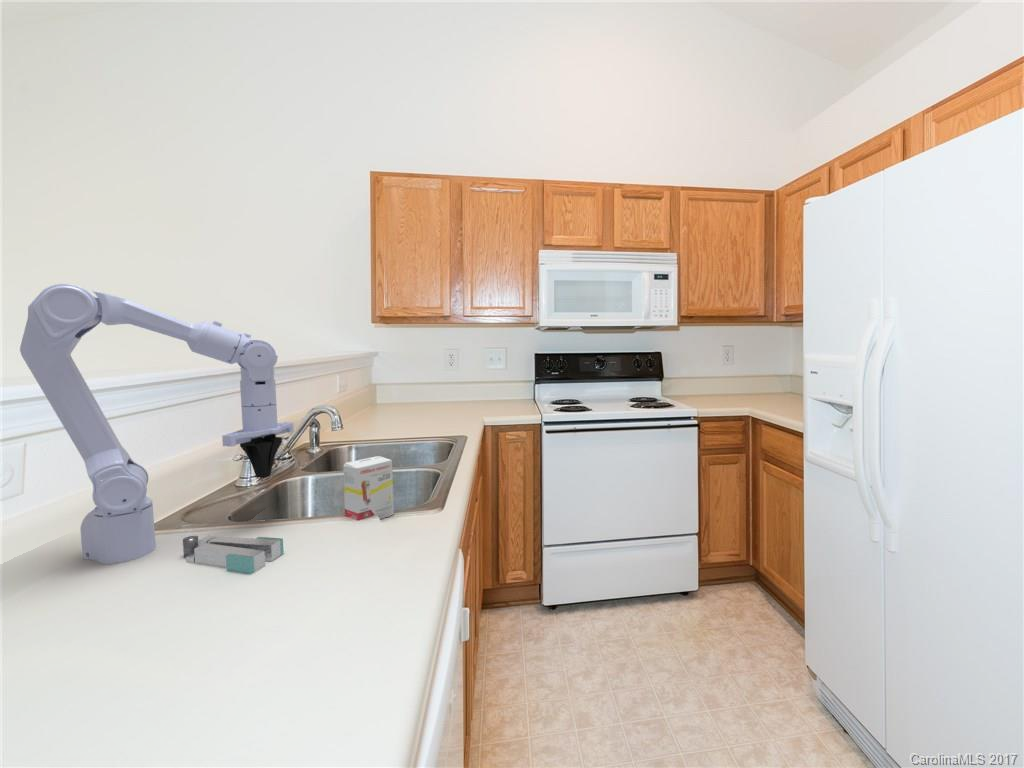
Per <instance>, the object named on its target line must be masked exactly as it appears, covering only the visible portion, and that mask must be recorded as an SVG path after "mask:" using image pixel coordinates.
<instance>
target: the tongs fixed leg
mask: <svg viewBox="0 0 1024 768" xmlns="http://www.w3.org/2000/svg"><path fill="white" fill-rule="evenodd" d="M198 540H199V536H198V535H190V536H187V537H184V538H182V548H183V551H182V552H183V558H184V559H185V563H189V564H199V565H204V566H210V567H217V568H224V569H226V572H233V573H237V574H238V573H240V574H245V575H252V574H254V573H255V572H257V571H259V570H261V569H262V568H264V567H266V561H265V552H264V551H262V550H254V549H247V548H239V547H231V546H224V545H216V544H208V543H206V544H203V545H201V546H199V547H198Z"/></svg>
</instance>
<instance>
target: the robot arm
mask: <svg viewBox="0 0 1024 768" xmlns="http://www.w3.org/2000/svg"><path fill="white" fill-rule="evenodd" d="M91 292H93V293H94V294H95V296H94V295H93V294H92V293H90V292H89V291H88V290H87V289H85V288H84V287H81V286H79V285H76V284H72V283H71V284H70V283H57V284H53V285H50V286H48V287H46V288H44V289H43V290H41V292H39V294H37V296H36V297H35V299H33V301H32V302H31V303H30V304H29V305H28V306H27V319H26V322H25V325H24V326H25V327H24V331H23V334H22V338H21V343H20V347H19V352H20V356H21V357H22V359H23V361H24V362H25V364H26V365H27V367H28V369H29V371H30V372H31V374H32V375H33V377H34V379H35V381H36V382H37V385H38V386H39V387H40V389H41V390H42V392H43V394H44V396H45V398H46V399H47V401H48V403H49V404H50V406H51V407H52V409H53V411H54V412H55V414H56V416H57V418H58V419H59V421H60V423H61V425H62V426H63V428H64V429H65V431H66V433H67V435H68V436H69V438H70V439H71V441H72V443H73V445H74V446H75V448H76V449H77V452H78V453H79V454H80V457H81V458H82V460H83V461H84V464H85V469H86V473H87V476H88V478H89V480H90V481H91V483H92V489H93V490H92V501H93V503H94V505H95V507H94V509H92V510H91V511H90V512H88V513H87V514H86V515H85V516H84V517H83V519H82V521H81V524H80V539H81V540H80V542H81V551H82V553H81V554H82V558H83V559H85V560H86V559H87V560H91V561H96V562H98V563H99V564H103V565H113V564H120V563H125V562H130V561H133V560H136V559H140V558H142V557H145V556H147V555H149V554H151V553H153V552H154V551H155V550H156V548H157V544H156V543H157V541H156V532H155V531H156V530H155V529H156V528H155V519H154V518H155V514H154V504H153V503H154V502H153V499H152V498H150V497H148V496H147V490H148V487H147V486H148V483H149V473H148V471H147V470H146V469H145V467H144V466H142V465H140V464H139V463H137V462H135V461H134V460H133V459H132V458H131V456H130V454H129V453H128V452H127V450H126V449H125V447H123V445H122V444H121V442H120V441H119V439H118V437H117V435H116V433H115V432H114V430H113V428H112V426H111V424H110V423H109V421H108V419H107V417H106V415H105V414H104V412H103V411H102V408H101V407H100V405H99V403H98V401H97V400H96V398H95V397H94V394H93V393H92V391H91V389H90V387H89V386H88V384H87V382H86V380H85V379H84V377H83V374H82V373H81V371H80V369H79V368H78V365H77V364H76V362H75V360H74V359H73V357H72V353H73V351H74V349H75V348H76V346H77V345H78V343H80V341H81V340H82V337H84V336H85V335H86V334H87V333H89V332H91V331H92V330H93V329H94V328H96V327H97V326H99V325H100V323H102V324H105V326H117V325H131V326H136V327H139V328H142V329H145V330H148V331H151V332H154V333H158V334H162V335H164V336H168V337H171V338H173V339H178V340H181V341H184V342H186V344H187V346H188V348H189V349H190V351H191V352H193V353H196V354H198V355H201V356H205V357H208V358H211V359H214V360H216V361H220V362H223V363H226V364H229V365H233V364H237V365H238V366H239V367H240V381H239V388H240V390H239V391H240V404H241V421H242V428H241V429H238V430H235V431H233V432H231V433H226V434H223V435H221V437H222V438H221V439H222V446H223V447H236V446H237V445H239V446H240V448H241V449H242V450H243V452H244V453H245V454H246V456H247V458H248V459H249V462H250V464H251V466H252V469H253V470H254V474H255V477H256V478H262V479H263V478H264V479H266V478H268V477H270V476H271V475H272V470H273V465H274V461H275V457H276V455H277V453H278V449H280V446H281V445H282V443H283V438H282V437H281V436H277V435H283V434H286V433H293V432H295V431H294V427H295V426H294V422H293V421H291V422H290V421H289V422H287V421H285V422H284V421H283V422H278V410H277V408H278V407H277V389H276V379H275V370H274V369H275V368H274V367H275V365H276V364H277V362H278V357H279V356H278V355H277V354H276V353H277V352H276V350H275V349H274V347H273V346H272V345H271V344H270V343H269V342H267V341H264V340H259V339H251V337H252V335H251V333H247V332H245V333H244V334H243V333H240V332H237V331H234V330H231V329H228V328H225V327H223V323H222V322H219V321H217V320H214V321H213V322H210V321H206V320H205V321H201V322H198V323H195V324H192V323H190V322H187V321H184V320H182V319H179V318H176V317H174V316H171V315H168V314H166V313H164V312H160V311H159V310H156V309H153V308H150V307H148V306H145V305H142V304H139V303H137V302H134V301H132V300H130V299H127V298H123V297H120V296H118V295H117V296H116V295H112V294H109V293H105V292H101V291H96V290H91Z"/></svg>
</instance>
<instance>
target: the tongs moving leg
mask: <svg viewBox="0 0 1024 768" xmlns="http://www.w3.org/2000/svg"><path fill="white" fill-rule="evenodd" d="M206 543H208V544H216V545H224V546H231V547H239V548H247V549H254V550H262V551H264V552H265V562H274V561H275V560H276V559H278V558H279V557H281V556H282V555H284V552H285V551H284V538H280V537H269V536H268V537H267V536H258V537H256V538H253V537H252V538H251V537H238V536H237V537H236V536H222V535H210V534H209V535H206V536H203V537H202V538H200V539H198V547H199V546H201V545H203V544H206Z"/></svg>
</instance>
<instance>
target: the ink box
mask: <svg viewBox="0 0 1024 768" xmlns="http://www.w3.org/2000/svg"><path fill="white" fill-rule="evenodd" d="M393 477H394V475H393V460H392V459H391V458H386V457H384V456H381V455H379V456H378V455H376V456H373V457H372V456H370V457H366V458H362V459H358V460H357V459H356V460H353V461H348V462H347V461H346V462H345V464H343V494H344V495H343V497H344V499H343V500H344V501H343V502H344V517H346V518H350V519H352V520H355V521H361V520H365V519H367V518H370V517H373V516H378V518H379V520H382V519H383V520H384V519H386V518H388V516H389V517H391V515H392V516H394V515H395V506H394V504H395V503H394V478H393ZM393 514H394V515H393ZM385 517H386V518H385Z"/></svg>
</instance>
